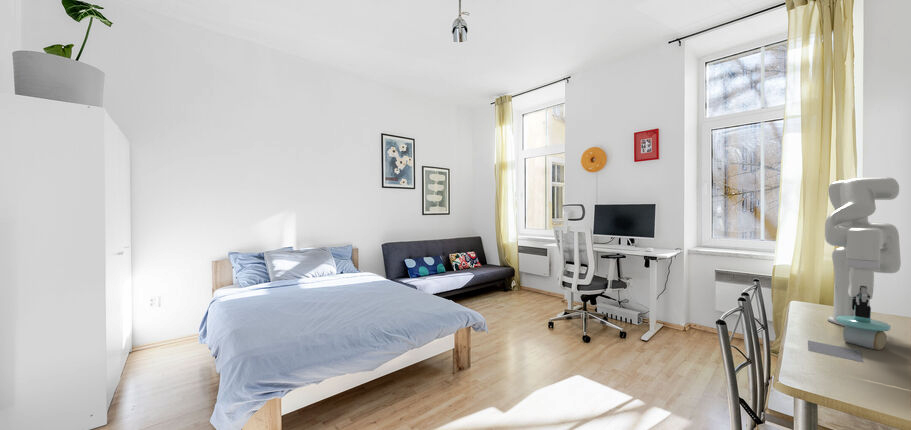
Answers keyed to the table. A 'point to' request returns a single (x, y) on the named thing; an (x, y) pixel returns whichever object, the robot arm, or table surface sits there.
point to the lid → (863, 323)
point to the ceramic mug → (864, 337)
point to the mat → (835, 351)
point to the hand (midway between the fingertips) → (860, 313)
